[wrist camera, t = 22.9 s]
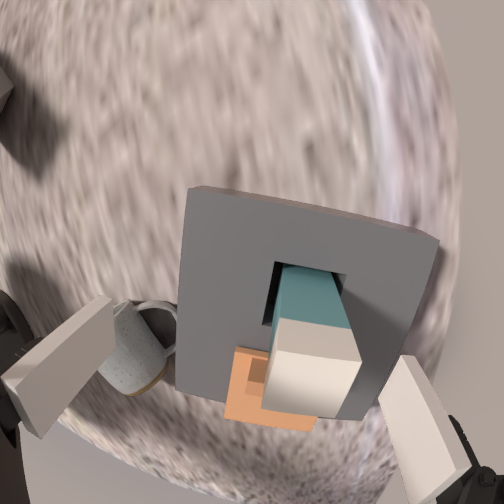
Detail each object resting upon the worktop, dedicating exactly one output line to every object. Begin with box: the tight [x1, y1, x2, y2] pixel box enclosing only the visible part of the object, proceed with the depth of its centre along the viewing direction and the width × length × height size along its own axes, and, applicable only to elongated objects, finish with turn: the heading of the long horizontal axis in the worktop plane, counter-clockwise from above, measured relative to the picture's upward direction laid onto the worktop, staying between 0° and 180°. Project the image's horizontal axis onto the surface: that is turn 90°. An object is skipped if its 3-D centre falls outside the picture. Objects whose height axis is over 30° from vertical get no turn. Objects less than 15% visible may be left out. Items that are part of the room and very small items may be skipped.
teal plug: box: [261, 263, 362, 418], centre depth 19 cm, size 4×4×14 cm
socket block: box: [175, 186, 440, 421], centre depth 25 cm, size 20×20×4 cm
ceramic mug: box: [98, 300, 177, 396], centre depth 26 cm, size 11×8×8 cm
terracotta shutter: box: [224, 346, 318, 432], centre depth 23 cm, size 9×9×4 cm
